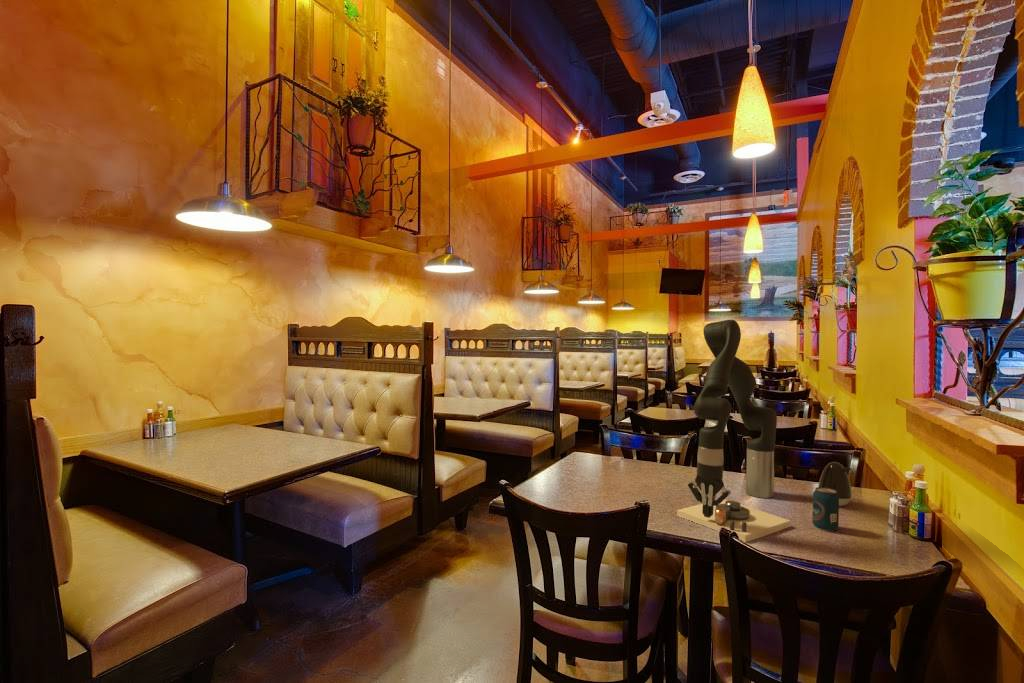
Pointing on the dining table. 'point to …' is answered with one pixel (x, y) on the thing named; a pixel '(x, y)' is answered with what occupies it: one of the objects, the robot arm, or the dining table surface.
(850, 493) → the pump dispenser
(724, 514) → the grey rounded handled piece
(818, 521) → the soda can
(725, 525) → the base board
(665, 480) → the dining table surface
